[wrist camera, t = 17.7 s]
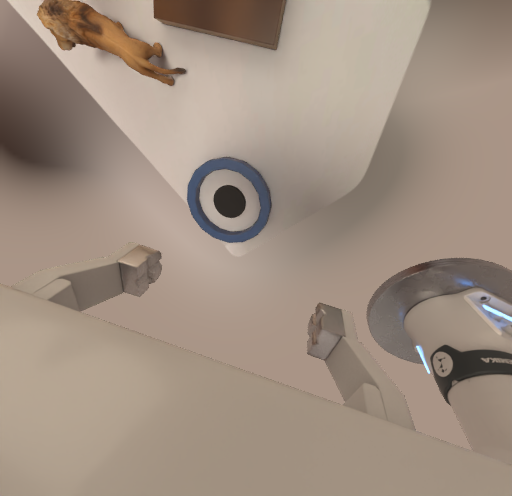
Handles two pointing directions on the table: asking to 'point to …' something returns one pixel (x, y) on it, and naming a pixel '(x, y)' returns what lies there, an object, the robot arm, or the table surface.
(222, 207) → the mat
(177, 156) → the table surface
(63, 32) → the lion figurine
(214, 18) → the platform
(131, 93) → the table surface
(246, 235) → the ring
